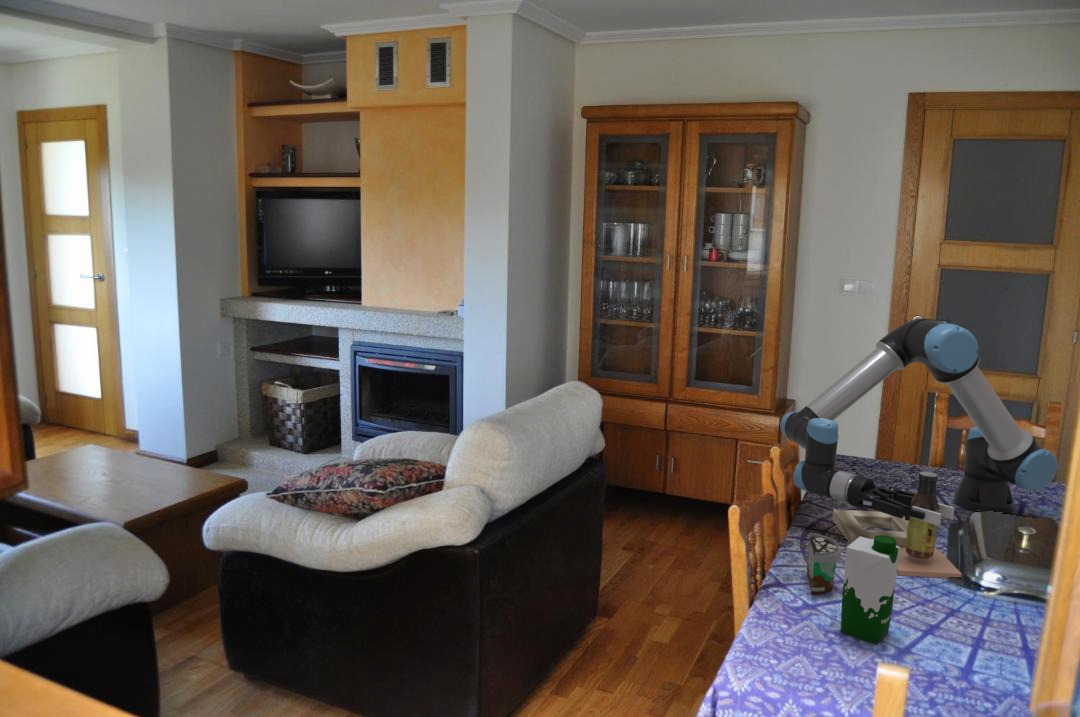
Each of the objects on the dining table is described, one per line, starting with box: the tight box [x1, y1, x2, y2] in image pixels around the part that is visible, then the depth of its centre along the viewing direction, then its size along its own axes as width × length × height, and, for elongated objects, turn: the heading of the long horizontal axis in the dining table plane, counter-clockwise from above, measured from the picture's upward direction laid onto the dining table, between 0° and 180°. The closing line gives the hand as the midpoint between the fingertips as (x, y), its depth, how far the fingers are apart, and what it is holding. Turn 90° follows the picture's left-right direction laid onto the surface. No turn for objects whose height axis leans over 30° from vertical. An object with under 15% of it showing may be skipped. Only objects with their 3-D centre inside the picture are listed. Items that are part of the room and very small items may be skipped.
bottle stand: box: [831, 509, 908, 548], centre depth 219 cm, size 18×18×3 cm
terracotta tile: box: [896, 547, 963, 579], centre depth 201 cm, size 14×14×1 cm
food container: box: [806, 532, 842, 595], centre depth 188 cm, size 12×6×10 cm, turn 168°
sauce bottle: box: [906, 471, 939, 559], centre depth 199 cm, size 6×6×20 cm
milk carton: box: [840, 535, 900, 645], centre depth 167 cm, size 9×9×20 cm
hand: (946, 516), depth 195 cm, fingers closed on sauce bottle, 6 cm apart
